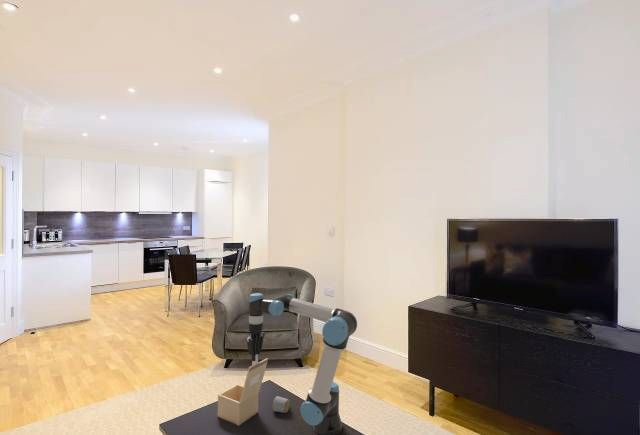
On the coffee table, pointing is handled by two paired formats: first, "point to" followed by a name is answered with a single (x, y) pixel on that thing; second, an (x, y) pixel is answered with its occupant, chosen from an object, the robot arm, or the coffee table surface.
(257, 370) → the carton lid
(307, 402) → the robot arm
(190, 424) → the coffee table surface
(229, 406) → the carton
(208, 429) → the coffee table surface
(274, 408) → the ceramic mug
